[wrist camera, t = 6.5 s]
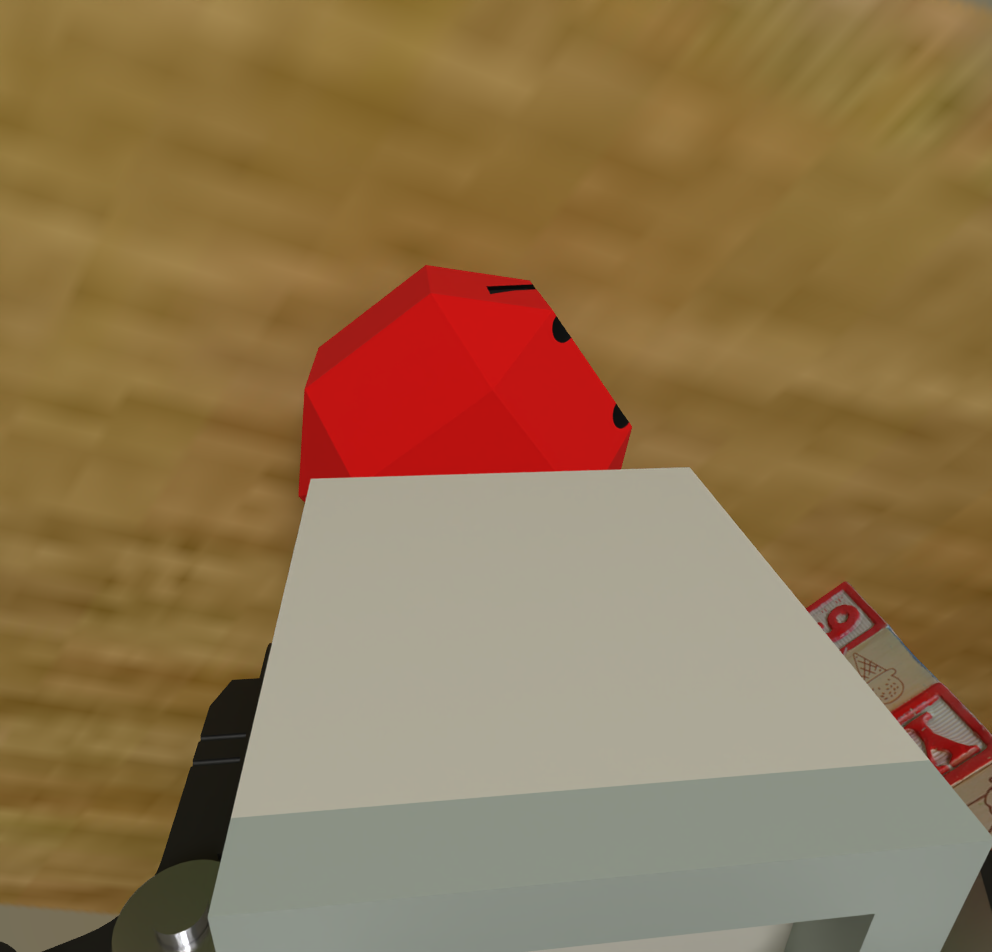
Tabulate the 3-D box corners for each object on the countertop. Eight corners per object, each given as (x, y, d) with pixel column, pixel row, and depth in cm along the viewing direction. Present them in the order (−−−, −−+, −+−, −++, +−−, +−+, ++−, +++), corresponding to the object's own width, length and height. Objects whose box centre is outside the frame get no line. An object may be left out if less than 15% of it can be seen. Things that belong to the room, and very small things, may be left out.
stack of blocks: (1031, 813, 38) (1284, 1093, 27) (926, 874, 40) (1128, 1165, 29) (843, 575, 30) (1103, 848, 19) (717, 664, 31) (892, 966, 20)
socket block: (689, 467, 12) (995, 839, 6) (646, 739, 14) (824, 1188, 8) (310, 478, 11) (206, 916, 5) (338, 762, 14) (292, 1272, 8)
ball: (616, 408, 25) (697, 519, 18) (430, 536, 26) (441, 684, 20) (479, 208, 22) (516, 253, 15) (274, 367, 23) (221, 475, 16)
